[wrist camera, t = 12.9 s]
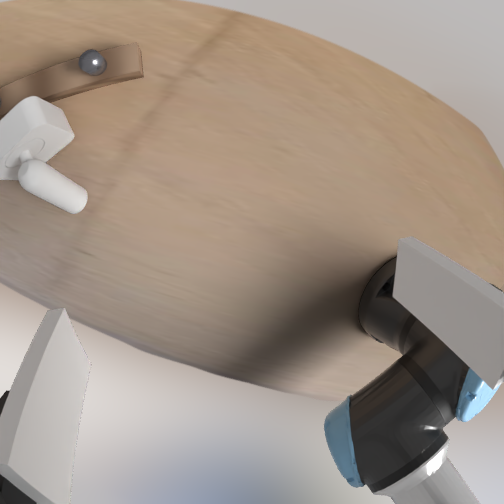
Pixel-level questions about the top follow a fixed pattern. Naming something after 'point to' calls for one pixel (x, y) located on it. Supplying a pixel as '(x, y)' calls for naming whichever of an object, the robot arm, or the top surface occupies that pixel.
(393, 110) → the top surface
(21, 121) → the white knobbed block
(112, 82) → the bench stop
